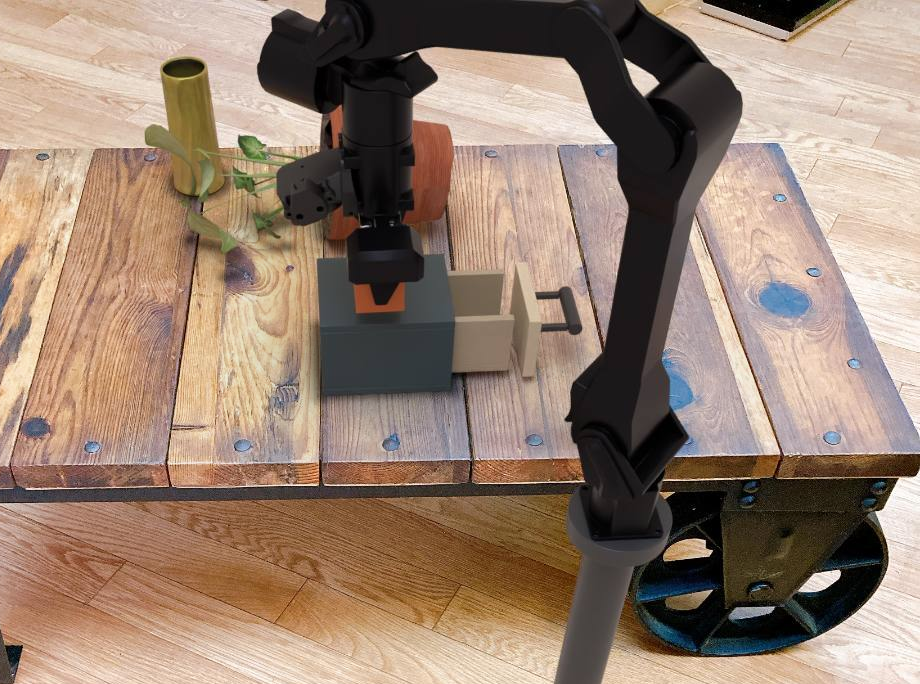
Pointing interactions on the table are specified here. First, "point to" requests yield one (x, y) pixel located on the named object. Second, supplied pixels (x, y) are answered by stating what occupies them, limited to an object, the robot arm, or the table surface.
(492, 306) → the drawer
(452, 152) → the potted plant
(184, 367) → the table surface
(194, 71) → the vase
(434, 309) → the cabinet
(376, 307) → the block
